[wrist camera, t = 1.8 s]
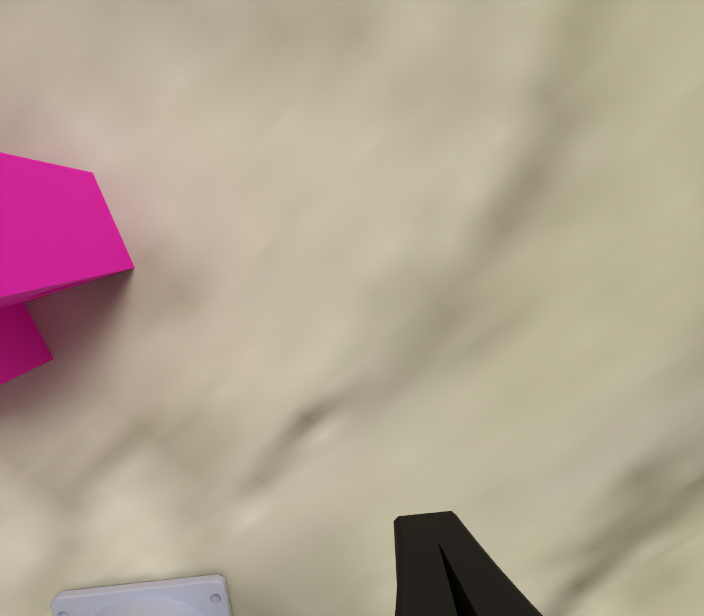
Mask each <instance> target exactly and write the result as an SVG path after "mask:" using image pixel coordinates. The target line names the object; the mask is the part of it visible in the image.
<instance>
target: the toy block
mask: <svg viewBox="0 0 704 616" xmlns="http://www.w3.org/2000/svg"><path fill="white" fill-rule="evenodd" d="M132 268H135V267H134V265H133V263H132V261H131V258H130V256H129V254H128V252H127V249H126V247H125V245H124V243H123V240H122V238H121V236H120V233H119V231H118V229H117V227H116V224H115V222H114V220H113V218H112V215H111V213H110V211H109V209H108V206H107V204H106V202H105V200H104V197H103V195H102V193H101V191H100V188H99V186H98V184H97V182H96V179H95V177H94V175H93V173H92V172H87V171H83V170H78V169H73V168H69V167H64V166H60V165H55V164H51V163H46V162H42V161H37V160H32V159H28V158H23V157H19V156H14V155H10V154H5V153H0V385H1V384H3V383H5V382H7V381H9V380H11V379H13V378H15V377H17V376H19V375H21V374H23V373H26V372H28V371H30V370H32V369H34V368H36V367H38V366H40V365H42V364H44V363H46V362H48V361H50V360H52V359H53V357H52V356H51V354H50V352H49V350H48V348H47V346H46V344H45V342H44V340H43V338H42V336H41V334H40V333H39V331H38V329H37V327H36V325H35V323H34V321H33V319H32V317H31V315H30V313H29V311H28V310H27V308H26V306H25V304H24V303H25V302H28V301H31V300H34V299H37V298H40V297H44V296H47V295H50V294H53V293H56V292H59V291H62V290H66V289H69V288H72V287H75V286H78V285H81V284H84V283H88V282H91V281H94V280H97V279H100V278H103V277H106V276H110V275H113V274H116V273H119V272H122V271H125V270H128V269H132Z"/></svg>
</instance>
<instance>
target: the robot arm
mask: <svg viewBox="0 0 704 616" xmlns="http://www.w3.org/2000/svg"><path fill="white" fill-rule="evenodd" d="M394 536H395V556H396V575H397V596H396V610H395V616H543V615H542V614H541V613H540V612H539V611H538V610H537V609H536V608H535V607H534V606H533V605H532V604H531V603H530V602H529V600H528V599H527V598H526V597H525V596H524V595H523V594H522V593H521V592H520V591H519V589H518V588H517V587H516V586H515V585H514V584H513V583H512V582H511V581H510V579H509V578H508V577H507V576H506V575H505V574H504V573H503V572H502V570H501V569H500V568H499V567H498V566H497V565H496V564H495V562H494V561H493V560H492V559H491V558H490V556H489V555H488V554H487V553H486V552H485V550H484V549H483V548H482V547H481V546H480V544H479V543H478V542H477V541H476V540H475V538H474V537H473V536H472V535H471V533H470V532H469V531H468V530H467V528H466V527H465V526H464V524H463V523H462V522H461V521H460V519H459V518H458V517H457V515H456V514H454V513H453V512H452V511H446V512H436V513H426V514H416V515H406V516H398V517H397V518H396V519H395V520H394ZM215 594H218V595H215ZM50 606H51V610H52V614H53V616H232V611H231V606H230V600H229V594H228V589H227V583H226V580H225V578H223V577H222V576H220V575H207V576H197V577H188V578H179V579H170V580H161V581H152V582H143V583H134V584H125V585H116V586H107V587H98V588H89V589H80V590H71V591H63V592H59V593H58V594H57V595H56V596H55V597H54V599H53V600H52V602H51V604H50Z"/></svg>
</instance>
